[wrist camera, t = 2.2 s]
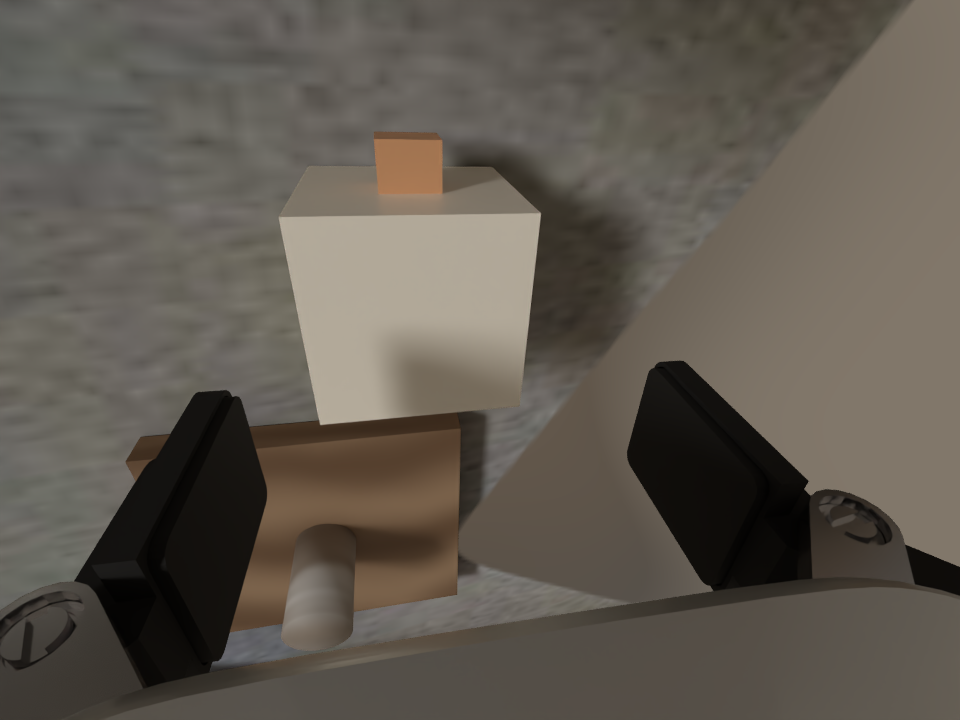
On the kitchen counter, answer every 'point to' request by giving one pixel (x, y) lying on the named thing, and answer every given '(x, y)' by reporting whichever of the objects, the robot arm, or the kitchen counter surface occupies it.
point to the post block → (347, 522)
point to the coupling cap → (410, 283)
